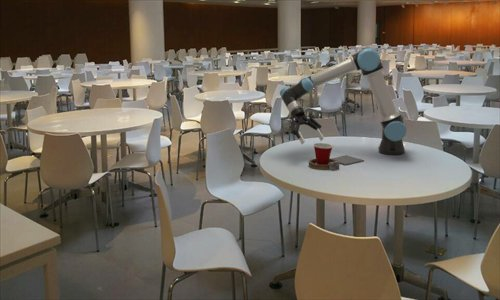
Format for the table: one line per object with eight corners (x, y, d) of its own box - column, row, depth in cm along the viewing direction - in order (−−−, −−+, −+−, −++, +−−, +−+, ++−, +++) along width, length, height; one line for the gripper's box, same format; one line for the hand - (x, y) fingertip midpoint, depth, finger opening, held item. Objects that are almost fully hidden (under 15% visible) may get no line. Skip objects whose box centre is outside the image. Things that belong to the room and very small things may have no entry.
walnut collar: (324, 160, 285) (324, 153, 284) (346, 167, 270) (346, 160, 269) (303, 165, 277) (303, 158, 276) (324, 172, 262) (324, 165, 261)
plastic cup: (332, 168, 268) (332, 147, 265) (312, 168, 270) (312, 146, 268) (333, 163, 279) (333, 142, 276) (313, 163, 281) (313, 142, 278)
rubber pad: (346, 156, 293) (346, 155, 293) (363, 161, 281) (363, 160, 281) (328, 160, 285) (328, 159, 285) (345, 165, 274) (345, 164, 274)
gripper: (310, 112, 296) (326, 141, 287) (275, 117, 283) (292, 148, 274) (316, 104, 290) (333, 134, 281) (281, 108, 277) (298, 140, 268)
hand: (312, 141), depth 278 cm, fingers open, 13 cm apart
